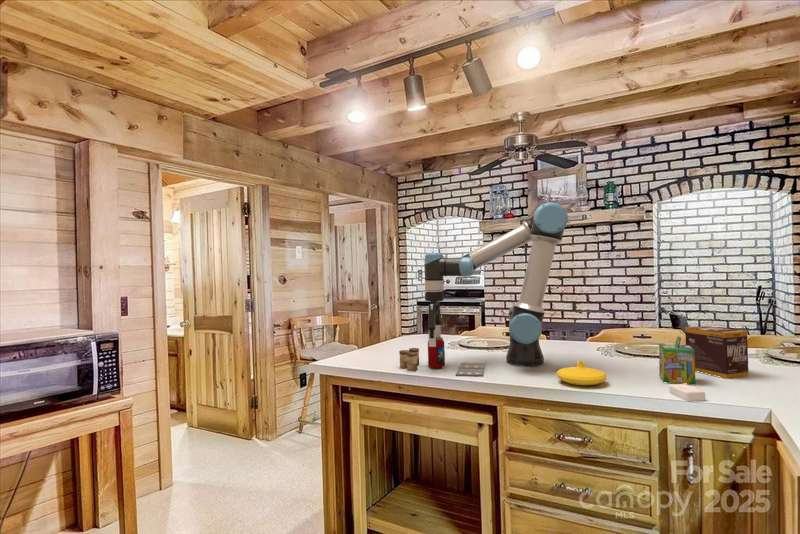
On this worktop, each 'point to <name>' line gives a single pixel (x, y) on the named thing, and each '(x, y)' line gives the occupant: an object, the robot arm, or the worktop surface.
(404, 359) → the jar
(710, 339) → the supplement box
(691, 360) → the chalk box
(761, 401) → the worktop surface
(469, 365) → the pad two
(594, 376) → the yellow lidded dish
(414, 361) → the jar
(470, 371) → the pad three
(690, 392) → the soap
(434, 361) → the beverage can
